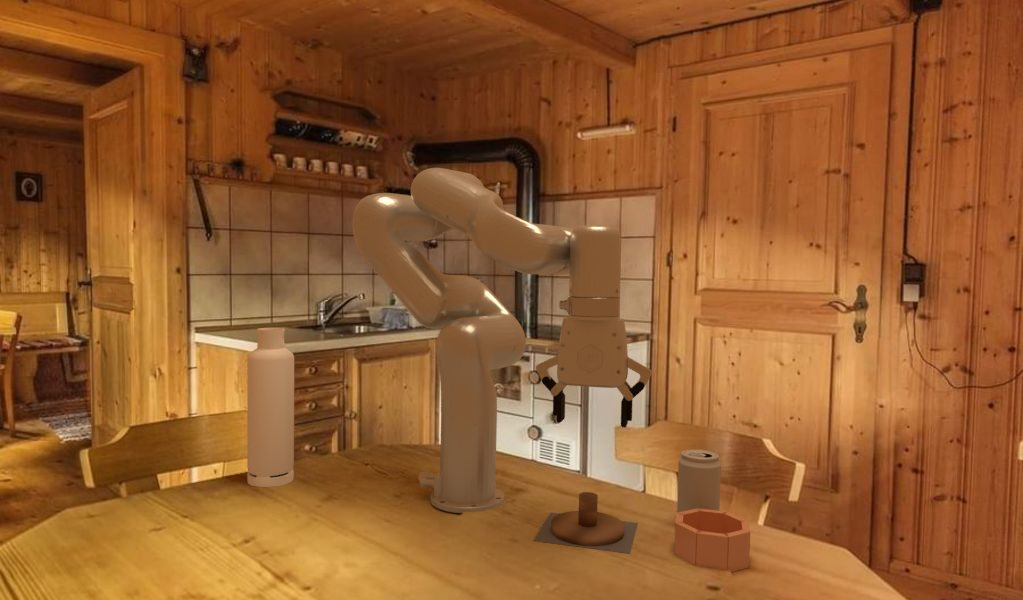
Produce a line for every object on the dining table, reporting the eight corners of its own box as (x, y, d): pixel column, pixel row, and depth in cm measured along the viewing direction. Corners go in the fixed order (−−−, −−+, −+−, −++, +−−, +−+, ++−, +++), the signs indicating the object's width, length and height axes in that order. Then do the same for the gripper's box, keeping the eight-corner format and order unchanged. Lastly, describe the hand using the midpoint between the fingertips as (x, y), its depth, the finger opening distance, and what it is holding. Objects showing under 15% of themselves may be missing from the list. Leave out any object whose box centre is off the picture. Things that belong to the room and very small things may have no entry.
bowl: (673, 566, 95) (674, 530, 94) (676, 538, 104) (677, 506, 104) (750, 576, 92) (751, 539, 92) (745, 547, 102) (747, 513, 101)
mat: (533, 544, 101) (533, 540, 101) (550, 515, 113) (550, 512, 113) (629, 557, 97) (629, 553, 97) (637, 526, 109) (637, 522, 109)
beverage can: (720, 539, 105) (723, 460, 104) (676, 534, 106) (679, 457, 105) (716, 523, 111) (719, 449, 110) (675, 519, 112) (678, 446, 111)
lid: (543, 540, 101) (544, 503, 101) (559, 514, 112) (559, 480, 111) (619, 550, 98) (620, 511, 98) (627, 522, 109) (628, 487, 108)
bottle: (285, 487, 124) (285, 331, 122) (240, 486, 124) (240, 330, 122) (299, 473, 132) (300, 327, 130) (257, 472, 132) (257, 326, 130)
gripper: (531, 309, 102) (530, 424, 103) (651, 312, 97) (648, 433, 98) (543, 306, 109) (541, 414, 110) (655, 309, 104) (652, 422, 105)
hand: (592, 423), depth 104 cm, fingers open, 9 cm apart
